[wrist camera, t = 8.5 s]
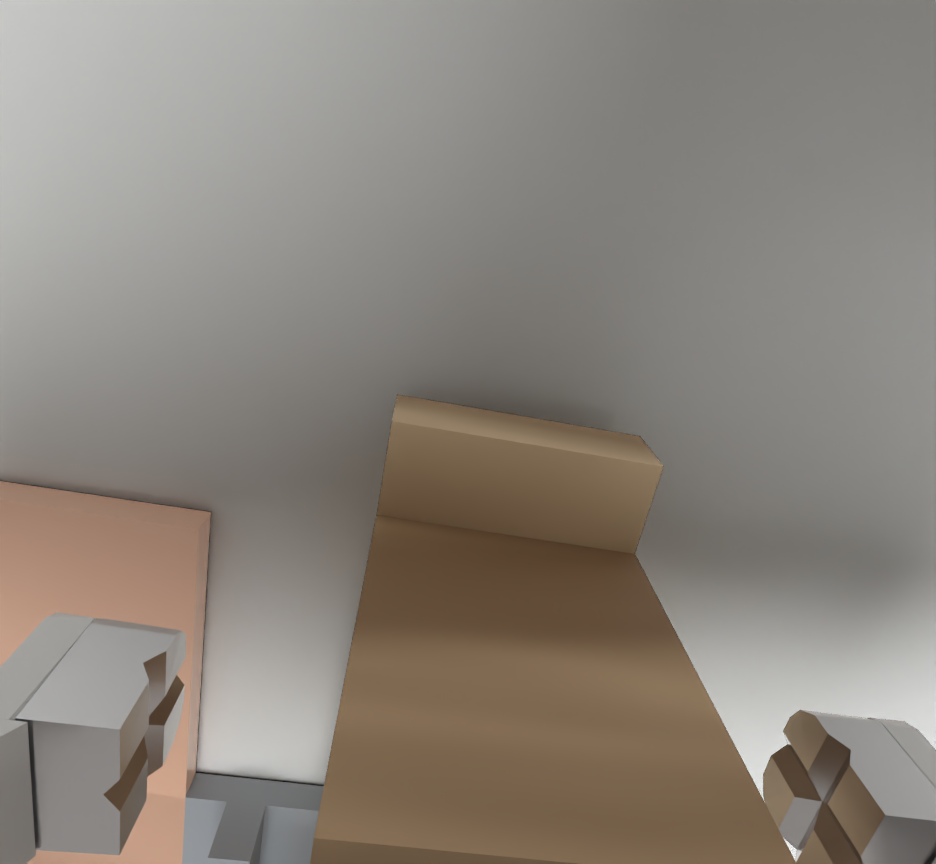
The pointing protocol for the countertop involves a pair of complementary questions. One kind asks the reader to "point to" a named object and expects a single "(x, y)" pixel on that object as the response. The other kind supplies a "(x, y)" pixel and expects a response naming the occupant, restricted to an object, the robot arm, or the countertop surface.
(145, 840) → the coaster
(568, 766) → the strip
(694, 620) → the countertop surface
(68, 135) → the countertop surface
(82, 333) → the countertop surface
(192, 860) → the lane board
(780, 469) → the countertop surface
